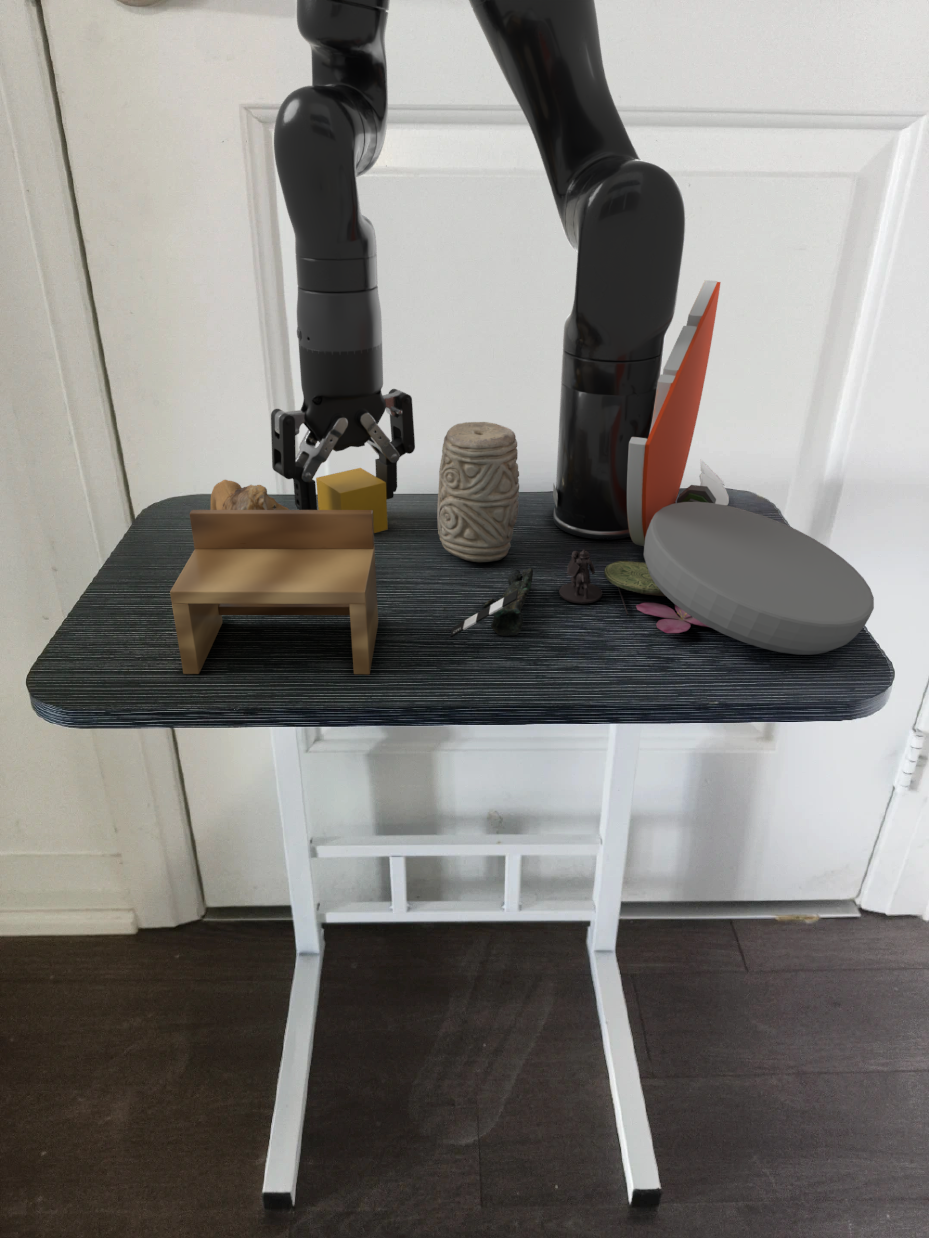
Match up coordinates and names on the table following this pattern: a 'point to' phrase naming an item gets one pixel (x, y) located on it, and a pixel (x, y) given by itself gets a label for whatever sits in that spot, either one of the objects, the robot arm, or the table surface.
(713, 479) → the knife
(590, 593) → the figurine
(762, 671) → the table surface
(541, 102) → the robot arm
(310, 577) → the bench
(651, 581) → the medallion
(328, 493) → the block
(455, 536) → the carving
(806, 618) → the decorative stone
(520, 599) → the figurine
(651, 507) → the wall plaque
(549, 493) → the table surface
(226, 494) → the lion figurine
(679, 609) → the flower
